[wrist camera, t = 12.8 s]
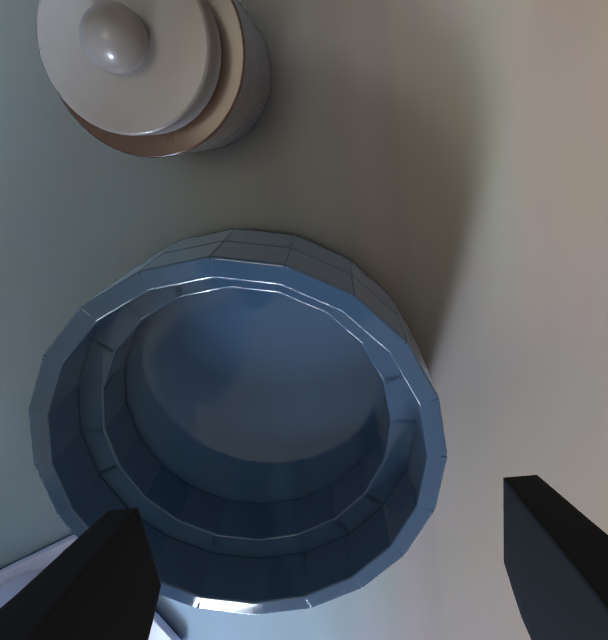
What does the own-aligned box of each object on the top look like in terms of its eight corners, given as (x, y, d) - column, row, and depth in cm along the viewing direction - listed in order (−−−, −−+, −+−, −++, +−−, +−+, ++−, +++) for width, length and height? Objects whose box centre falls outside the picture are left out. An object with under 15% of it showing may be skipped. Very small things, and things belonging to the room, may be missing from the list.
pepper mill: (111, 111, 16) (-48, 100, 10) (156, -37, 15) (8, -178, 8) (238, 172, 17) (175, 204, 10) (294, 34, 15) (265, -42, 9)
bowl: (211, 560, 23) (185, 658, 19) (27, 332, 19) (-57, 389, 15) (474, 445, 20) (512, 529, 16) (314, 156, 17) (310, 166, 12)
